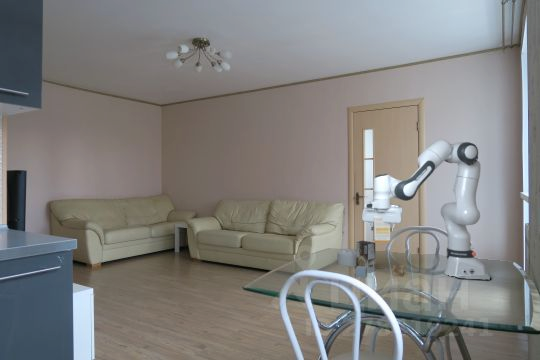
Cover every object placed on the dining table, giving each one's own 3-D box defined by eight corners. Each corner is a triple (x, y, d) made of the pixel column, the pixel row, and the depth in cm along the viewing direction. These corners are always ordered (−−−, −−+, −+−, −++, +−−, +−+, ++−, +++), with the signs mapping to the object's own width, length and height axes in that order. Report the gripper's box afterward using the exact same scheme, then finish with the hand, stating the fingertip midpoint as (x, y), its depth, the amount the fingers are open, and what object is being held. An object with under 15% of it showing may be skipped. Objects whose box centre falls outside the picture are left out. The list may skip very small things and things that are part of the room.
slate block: (366, 276, 204) (366, 266, 204) (365, 278, 200) (365, 269, 199) (357, 275, 206) (357, 265, 206) (355, 277, 202) (355, 268, 202)
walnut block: (403, 274, 207) (403, 265, 207) (402, 276, 203) (403, 267, 202) (394, 273, 209) (394, 264, 209) (393, 275, 205) (393, 266, 204)
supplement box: (388, 240, 202) (388, 215, 202) (390, 241, 198) (390, 216, 197) (373, 240, 204) (372, 215, 203) (374, 241, 199) (374, 216, 198)
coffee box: (375, 271, 214) (376, 242, 213) (368, 272, 210) (368, 243, 210) (363, 267, 221) (363, 240, 221) (355, 269, 218) (355, 241, 217)
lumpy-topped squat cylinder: (360, 266, 224) (360, 252, 224) (338, 266, 225) (338, 251, 225) (357, 262, 234) (357, 248, 234) (336, 261, 235) (336, 248, 235)
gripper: (402, 204, 198) (402, 231, 199) (363, 203, 207) (363, 228, 207) (402, 205, 193) (401, 233, 193) (361, 204, 201) (361, 230, 201)
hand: (381, 230), depth 200 cm, fingers closed on supplement box, 8 cm apart
